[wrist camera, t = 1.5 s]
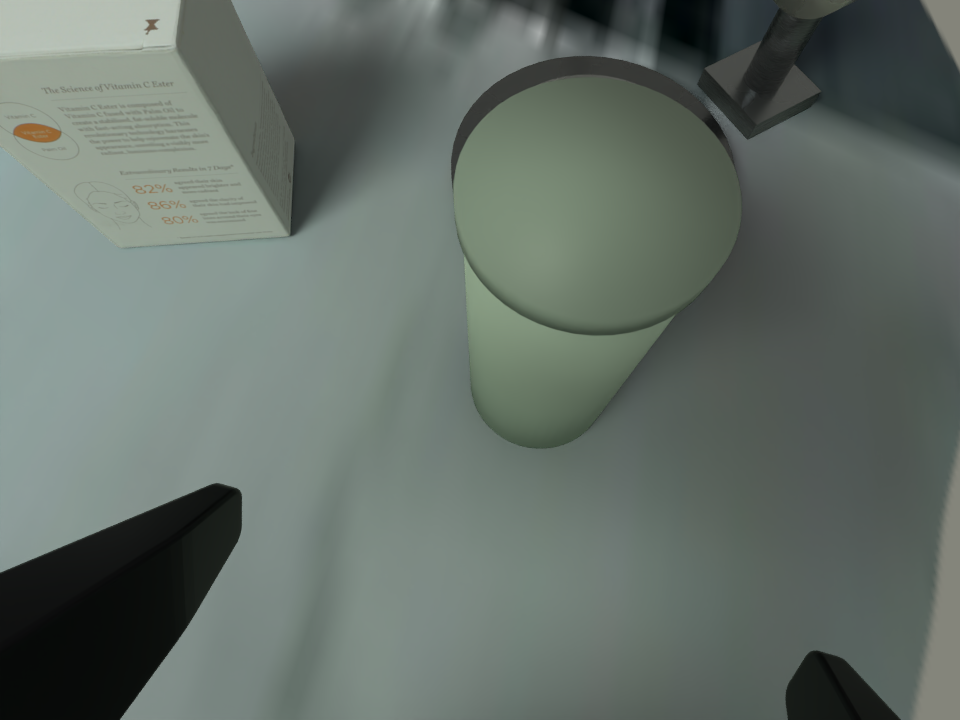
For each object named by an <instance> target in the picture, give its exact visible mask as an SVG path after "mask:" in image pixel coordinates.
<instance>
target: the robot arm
mask: <svg viewBox="0 0 960 720" xmlns="http://www.w3.org/2000/svg"><path fill="white" fill-rule="evenodd" d="M241 528H242V494H241V492H240V490H239V489H237V488H234V487H231V486H227V485H223V484H220V483H215V484H211V485H209V486H206V487H204V488H201V489H199V490H197V491H194V492H192V493H189V494H187V495H185V496H182V497H180V498H177V499H175V500H173V501H170V502H168V503H166V504H163V505H161V506H158V507H156V508H154V509H151V510H149V511H146V512H144V513H142V514H139V515H137V516H135V517H132V518H130V519H127V520H125V521H123V522H120V523H118V524H115V525H113V526H111V527H108V528H106V529H103V530H101V531H99V532H96V533H94V534H92V535H89V536H87V537H84V538H82V539H80V540H77V541H75V542H72V543H70V544H68V545H65V546H63V547H61V548H58V549H56V550H53V551H51V552H49V553H46V554H44V555H41V556H39V557H37V558H34V559H32V560H29V561H27V562H25V563H22V564H20V565H18V566H15V567H13V568H10V569H8V570H6V571H3V572H1V573H0V720H120V719H121V717H122V716H123V715H124V713H125V712H126V711H127V709H128V708H129V707H130V705H131V704H132V702H133V701H134V700H135V698H136V697H137V696H138V694H139V693H140V691H141V690H142V689H143V687H144V686H145V685H146V683H147V682H148V681H149V679H150V678H151V676H152V675H153V674H154V672H155V671H156V670H157V668H158V667H159V665H160V664H161V663H162V661H163V660H164V659H165V657H166V656H167V655H168V653H169V652H170V650H171V649H172V648H173V646H174V645H175V644H176V642H177V641H178V639H179V638H180V637H181V635H182V634H183V632H184V631H185V629H186V628H187V626H188V625H189V623H190V621H191V620H192V618H193V617H194V615H195V613H196V612H197V610H198V608H199V607H200V605H201V603H202V601H203V600H204V598H205V596H206V595H207V593H208V591H209V590H210V588H211V586H212V584H213V583H214V581H215V579H216V578H217V576H218V574H219V572H220V571H221V569H222V567H223V566H224V564H225V562H226V561H227V559H228V557H229V555H230V554H231V552H232V550H233V549H234V547H235V545H236V543H237V542H238V539H239V537H240V534H241ZM786 708H787V716H788V720H901V719H900V718H899V717H898V716H897V715H896V714H895V713H894V712H893V711H892V710H891V709H890V708H889V707H888V705H887V704H886V703H885V702H884V701H883V700H882V699H881V698H880V697H879V696H878V695H877V694H876V693H875V692H874V691H873V689H872V688H871V687H870V686H869V685H868V684H867V683H866V682H865V681H864V680H863V679H862V678H861V677H860V676H859V674H858V673H857V672H856V671H855V670H854V669H853V668H852V667H851V666H850V665H849V664H848V663H847V662H846V661H845V660H844V659H842V658H840V657H838V656H835V655H831V654H828V653H824V652H821V651H811V652H809V653H808V654H807V655H806V657H805V658H804V660H803V661H802V663H801V665H800V666H799V668H798V669H797V671H796V673H795V674H794V676H793V677H792V679H791V680H790V682H789V684H788V687H787V690H786Z"/></svg>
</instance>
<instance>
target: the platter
mask: <svg viewBox="0 0 960 720" xmlns="http://www.w3.org/2000/svg"><path fill="white" fill-rule="evenodd" d="M581 77H596V78H608V79H615V80H620V81H626V82H630V83H633V84H637V85H640V86H644V87H647V88H649V89H651V90H654V91H656V92H659V93H661V94H663V95H665V96H667V97H669V98H671V99H673V100H674V101H676V102H678V103H679V104H681V105H682V106H684V107H685V108H687V109H688V110H690V111H691V112H692V113H693V114H694V115H696V116H697V117H698V118H699V119H700V120H702V121H703V122H704V123H705V124H706V125H707V127H708V128H709V129H710V130H711V131H712V132H713V133H714V134H715V135H716V137H717V138H718V140H719V141H720V142H721V144H722V145H723V147H724V148H725V150H726V152H727V154H728V155H729V157H730V159H731V161H732V163H733V166H734V161H733V156H732V152H731V150H730V147H729V144H728V142H727V139H726V137H725V135H724V133H723V131H722V130H721V128H720V126H719V124H718V123H717V122H716V120H715V119H714V117H713V116H712V115H711V113H710V112H709V111H708V110H707V109H706V108H705V107H704V105H703V104H702V103H701V102H700V101H699V100H698V99H697V98H695V97H694V96H693V95H692V94H691V93H690V92H688V91H687V90H686V89H685V88H683V87H682V86H680V85H679V84H677V83H676V82H674V81H673V80H671V79H669V78H667V77H665V76H663V75H662V74H660V73H658V72H656V71H653V70H651V69H648V68H646V67H643V66H641V65H637V64H634V63H630V62H627V61H623V60H617V59H612V58H606V57H593V56H573V57H564V58H556V59H551V60H547V61H543V62H539V63H536V64H533V65H530V66H527V67H524V68H522V69H520V70H518V71H516V72H514V73H511V74H509V75H508V76H506V77H505V78H503V79H501V80H500V81H498V82H497V83H495V84H494V85H493V86H492V87H490V88H489V89H488V90H487V91H486V92H484V93H483V94H482V95H481V97H480V98H479V99H478V100H477V101H476V102H475V103H474V104H473V105H472V107H471V108H470V110H469V111H468V113H467V114H466V116H465V117H464V119H463V121H462V123H461V125H460V127H459V129H458V132H457V135H456V138H455V141H454V145H453V152H452V158H451V174H452V188H453V194H454V177H455V170H456V166H457V162H458V159H459V156H460V153H461V151H462V149H463V147H464V145H465V143H466V141H467V139H468V137H469V136H470V134H471V133H472V131H473V130H474V128H475V127H476V126H477V125H478V124H479V123H480V121H481V120H482V119H483V118H484V117H485V116H486V115H487V114H488V113H489V112H491V111H492V110H493V109H494V108H495V107H496V106H498V105H499V104H501V103H502V102H504V101H505V100H507V99H508V98H510V97H511V96H513V95H515V94H517V93H520V92H522V91H524V90H526V89H528V88H531V87H534V86H537V85H540V84H542V83H547V82H551V81H555V80H560V79H569V78H581ZM734 168H735V166H734Z"/></svg>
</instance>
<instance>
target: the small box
mask: <svg viewBox="0 0 960 720" xmlns="http://www.w3.org/2000/svg"><path fill="white" fill-rule="evenodd" d="M0 146H1V147H2V148H3V149H4V150H5V151H6V152H8V153H9V154H10V155H11V156H13V157H14V158H15V159H16V160H17V161H18V162H19V163H20V164H22V165H23V166H24V167H25V168H26V169H27V170H29V171H30V172H31V173H32V174H33V175H35V176H36V177H37V178H38V179H39V180H40V181H41V182H43V183H44V184H45V185H46V186H47V187H48V188H50V189H51V190H52V191H53V192H54V193H56V194H57V195H58V196H59V197H60V198H61V199H62V200H64V201H65V202H66V203H67V204H68V205H69V206H71V207H72V208H73V209H74V210H75V211H76V212H78V213H79V214H80V215H81V216H82V217H83V218H84V219H86V220H87V221H88V222H89V223H90V224H92V225H93V226H94V227H95V228H96V229H97V230H98V231H100V232H101V233H102V234H103V235H104V236H105V237H107V238H108V239H109V240H110V241H111V242H112V243H114V244H115V245H116V246H117V247H118V248H131V247H144V246H158V245H172V244H187V243H201V242H217V241H232V240H245V239H258V238H273V237H288V236H290V233H291V209H292V189H293V167H294V146H295V139H294V137H293V134H292V132H291V130H290V128H289V126H288V124H287V122H286V120H285V117H284V115H283V113H282V111H281V108H280V106H279V104H278V102H277V100H276V97H275V95H274V93H273V91H272V89H271V87H270V85H269V82H268V80H267V78H266V76H265V74H264V72H263V69H262V67H261V65H260V63H259V60H258V58H257V56H256V54H255V52H254V50H253V47H252V45H251V43H250V41H249V39H248V37H247V35H246V32H245V30H244V28H243V26H242V24H241V21H240V19H239V17H238V15H237V13H236V11H235V9H234V6H233V4H232V2H231V0H0Z"/></svg>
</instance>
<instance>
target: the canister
mask: <svg viewBox="0 0 960 720" xmlns="http://www.w3.org/2000/svg"><path fill="white" fill-rule="evenodd" d="M454 210H455V223H456V229H457V235H458V239H459V242H460V245H461V248H462V251H463V253H464V265H465V284H466V303H467V323H468V342H469V361H470V380H471V391H472V397H473V400H474V404H475V406H476V408H477V410H478V412H479V414H480V416H481V417H482V419H483V420H484V421H485V423H486V424H487V425H488V426H489V427H490V428H491V429H492V430H493V431H494V432H495V433H497V434H498V435H499V436H501V437H502V438H504V439H506V440H508V441H510V442H512V443H514V444H517V445H520V446H524V447H528V448H552V447H557V446H560V445H564V444H566V443H568V442H571V441H573V440H574V439H576V438H577V437H579V436H581V435H582V434H583V433H584V432H585V431H587V429H588V428H589V427H590V426H591V425H592V424H593V423H594V421H595V420H596V419H597V417H598V416H599V415H600V413H601V412H602V411H603V409H604V408H605V407H606V406H607V404H608V403H609V402H610V400H611V399H612V398H613V396H614V395H615V394H616V392H617V391H618V390H619V388H620V387H621V386H622V385H623V383H624V382H625V381H626V379H627V378H628V377H629V375H630V374H631V373H632V371H633V370H634V369H635V367H636V366H637V365H638V364H639V362H640V361H641V360H642V358H643V357H644V356H645V354H646V353H647V352H648V350H649V349H650V348H651V346H652V345H653V344H654V343H655V341H656V340H657V339H658V337H659V336H660V335H661V333H662V332H663V331H664V329H665V328H666V327H667V325H668V324H669V323H670V322H671V320H672V319H673V318H674V316H675V315H676V314H677V313H679V312H681V311H682V310H683V309H684V308H685V307H687V306H688V305H689V304H690V303H692V302H693V301H694V300H695V299H696V298H697V297H698V296H699V295H700V293H701V292H702V291H703V290H704V289H705V288H706V287H707V285H708V284H709V283H710V282H711V280H712V279H713V278H714V277H715V275H716V274H717V273H718V272H719V270H720V269H721V267H722V266H723V264H724V263H725V261H726V260H727V258H728V257H729V255H730V253H731V251H732V249H733V246H734V244H735V242H736V239H737V235H738V232H739V228H740V223H741V214H742V200H741V190H740V185H739V181H738V177H737V174H736V171H735V168H734V166H733V163H732V161H731V159H730V157H729V155H728V154H727V152H726V150H725V148H724V147H723V145H722V144H721V142H720V141H719V140H718V138H717V137H716V135H715V134H714V133H713V132H712V131H711V130H710V129H709V128H708V127H707V125H706V124H705V123H704V122H703V121H702V120H700V119H699V118H698V117H697V116H696V115H694V114H693V113H692V112H691V111H690V110H688V109H687V108H685V107H684V106H682V105H681V104H679V103H678V102H676V101H674V100H673V99H671V98H669V97H667V96H665V95H663V94H661V93H659V92H656V91H654V90H651V89H649V88H647V87H644V86H640V85H637V84H633V83H630V82H626V81H620V80H615V79H608V78H596V77H581V78H569V79H560V80H555V81H551V82H547V83H542V84H540V85H537V86H534V87H531V88H528V89H526V90H524V91H522V92H520V93H517V94H515V95H513V96H511V97H510V98H508V99H507V100H505V101H504V102H502V103H501V104H499V105H498V106H496V107H495V108H494V109H493V110H492V111H491V112H489V113H488V114H487V115H486V116H485V117H484V118H483V119H482V120H481V121H480V123H479V124H478V125H477V126H476V127H475V128H474V130H473V131H472V133H471V134H470V136H469V137H468V139H467V141H466V143H465V145H464V147H463V149H462V151H461V153H460V156H459V159H458V162H457V166H456V170H455V177H454Z"/></svg>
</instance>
